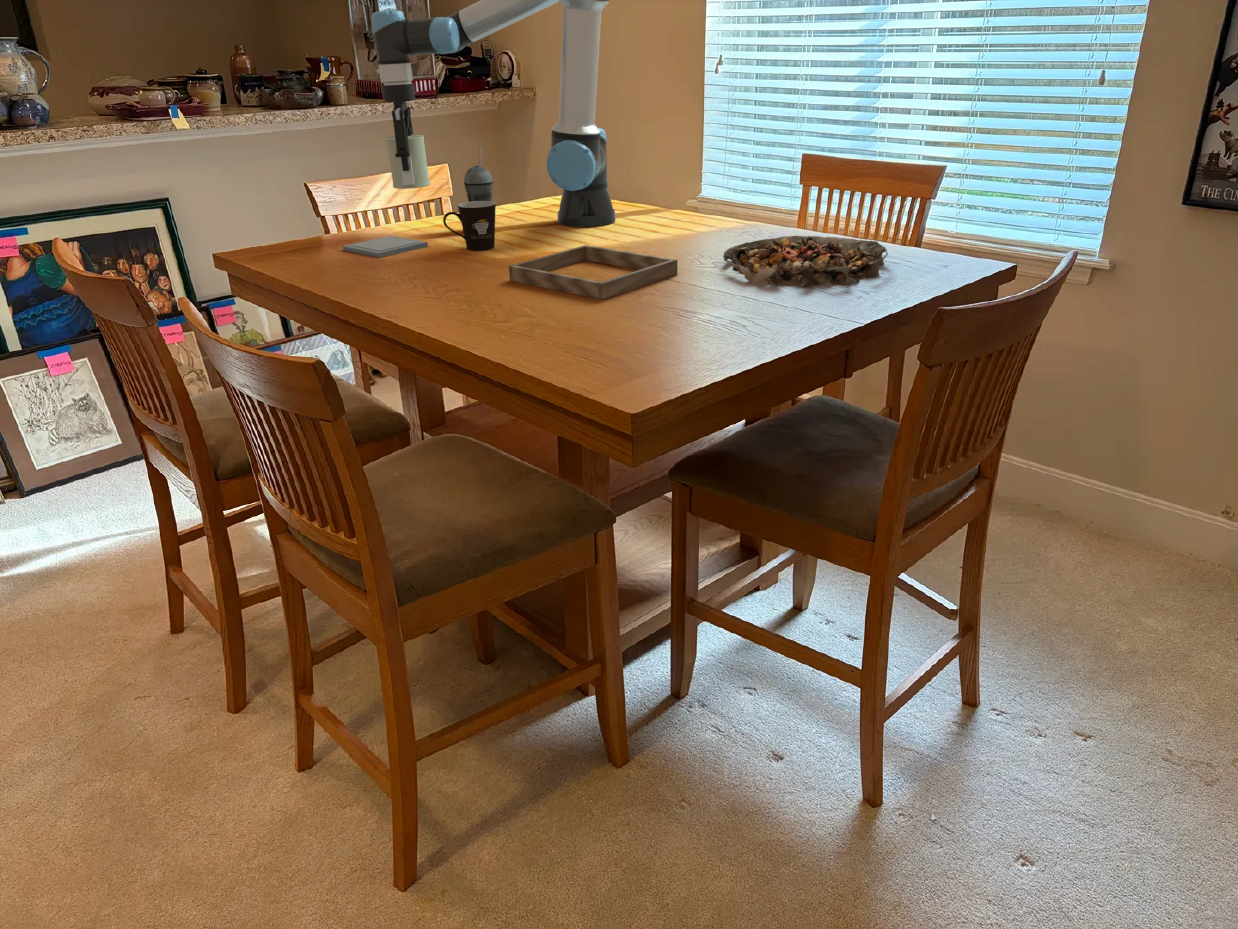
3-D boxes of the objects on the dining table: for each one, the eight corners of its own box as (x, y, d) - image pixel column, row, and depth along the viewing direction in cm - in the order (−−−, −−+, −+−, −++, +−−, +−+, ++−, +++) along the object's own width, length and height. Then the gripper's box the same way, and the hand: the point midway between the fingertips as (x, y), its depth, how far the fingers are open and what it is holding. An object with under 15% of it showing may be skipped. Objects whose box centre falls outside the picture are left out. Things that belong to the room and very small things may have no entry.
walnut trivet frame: (677, 274, 183) (677, 259, 181) (602, 299, 167) (602, 283, 166) (586, 258, 197) (585, 244, 196) (509, 280, 182) (508, 265, 180)
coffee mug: (502, 243, 214) (499, 200, 209) (494, 251, 206) (490, 207, 202) (455, 244, 215) (450, 201, 211) (445, 252, 207) (440, 207, 203)
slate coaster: (427, 246, 214) (427, 241, 213) (378, 257, 204) (378, 252, 204) (391, 239, 222) (391, 235, 221) (343, 250, 212) (342, 245, 212)
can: (426, 187, 220) (418, 135, 215) (388, 189, 220) (380, 137, 215) (433, 182, 228) (427, 131, 223) (398, 183, 228) (390, 133, 223)
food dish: (800, 305, 164) (801, 263, 161) (690, 274, 190) (688, 237, 186) (928, 269, 181) (932, 230, 177) (811, 245, 206) (812, 210, 203)
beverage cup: (465, 228, 232) (456, 146, 223) (492, 225, 235) (484, 144, 226) (473, 233, 226) (464, 149, 217) (500, 230, 229) (493, 147, 220)
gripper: (388, 82, 223) (402, 176, 233) (373, 86, 204) (389, 189, 214) (418, 80, 224) (431, 174, 234) (406, 84, 204) (421, 187, 214)
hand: (411, 181), depth 224 cm, fingers closed on can, 9 cm apart
